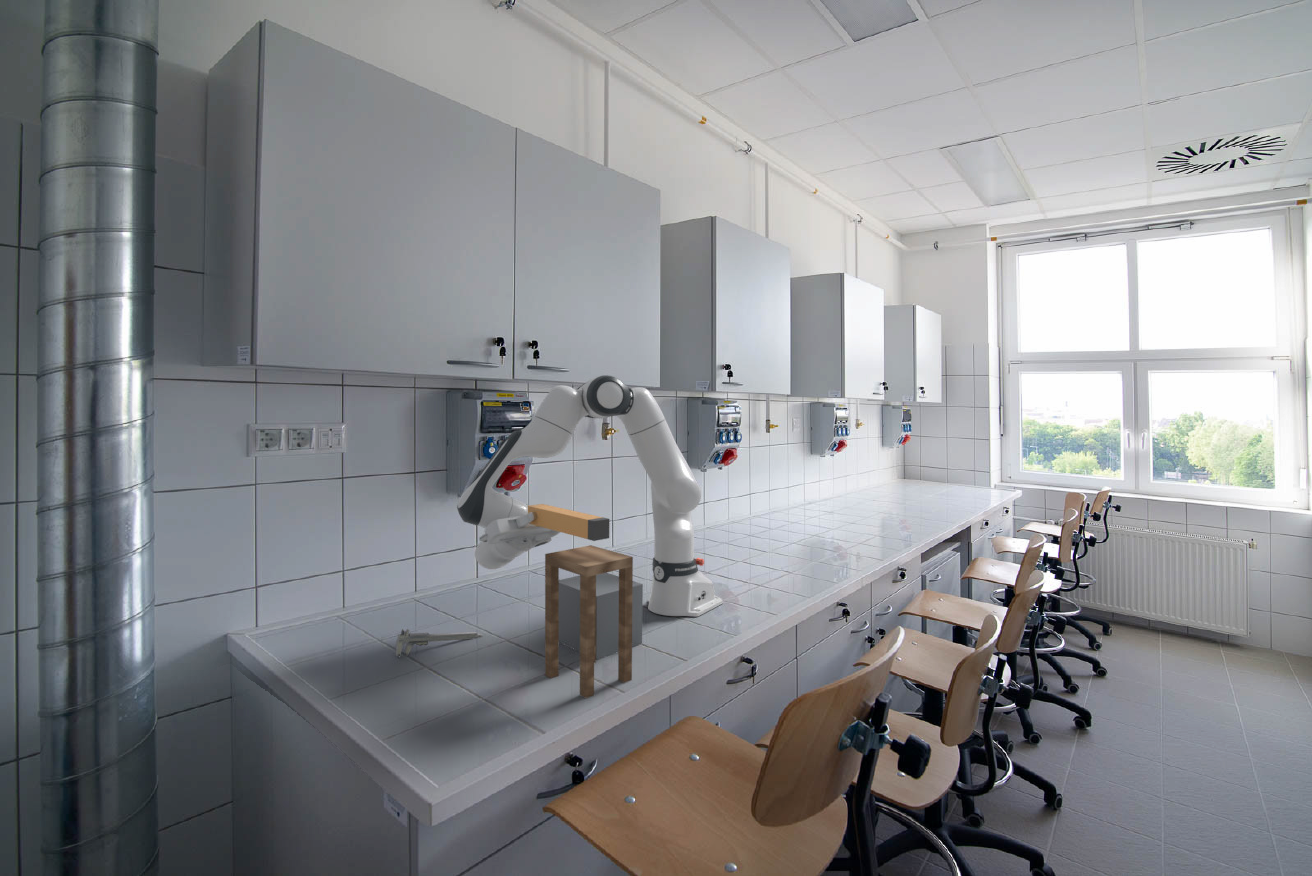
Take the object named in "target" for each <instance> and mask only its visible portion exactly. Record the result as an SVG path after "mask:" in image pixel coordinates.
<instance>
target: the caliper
mask: <svg viewBox="0 0 1312 876" xmlns="http://www.w3.org/2000/svg"><path fill="white" fill-rule="evenodd" d="M481 637H483V635H482V634H480V633H479V632H476V631H470V632H469V631H467V632H450V633H448V632H447V633H445V632H444V633H431V634H430V633H429V632H412V633H410V630H409V629H408V628H407V629H406V630H404V629H401V633H398V634H397V639H396V641H395V655H396V656H397V657H398V658H400V657H401V653H402V650H403V646H404V644H405V648H404V654H405V655H407V656H409V654H410V652H411V650H412V649H413V646H414V645H417V646H427V645H428V644H429V643H430V642H431V643H432V642H445V641H461V640H473V638H474V639H477V638H481ZM405 655H404V656H405ZM399 656H400V657H399Z"/></svg>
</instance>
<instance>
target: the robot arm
mask: <svg viewBox="0 0 1312 876" xmlns="http://www.w3.org/2000/svg"><path fill="white" fill-rule="evenodd" d="M584 417H585V418H590V419H601V420H602V419H607V418H610V417H617V418H618V419H620V421H621V423H622V424H623V425H624V427H625V430H626V433H627V434H628V437H629V440H630V442H631V443H632V445H633V446H632V447H633V449H634V450H635V453H636V455H637V457H638V460H639V462H640V463H641V465H642V467H643V469H644V471H645V472H646V474H647V476H648V478H649V479H650V481H651V482H650V490H651V507H652V517H653V518H652V519H653V528H654V545H653V546H654V547H653V548H654V557H653V558H652V573H653V575H652V582H651V587H650V588H651V590H650V596H649V597H648V606H647V608H648V610H649V611H650V612H652V613H654V614H657V615H661V616H668V617H694V618H695V617H700V616H702V615H704V614H705V613H707V612H710V611H711V610H713V609H715V608H717V607H718V606H720V605H722V604H723V603H724V602H723V599H722V598H721V597H720V596H717V595H715V587H714V583H713V581H712V580H710V578H708V577H707V576H706V575H705V574H703V573H702V572H701V571H700V570H699V567H698V566H700V567H703V566H704V565H705V560H704V558H701V557H697V558H695V556H694V555H695V554H694V552H695V530H694V524H693V519H692V511H694V510H695V509H696V508H697V507H698V506H699V504H700V502H701V499H702V491H701V487H700V485H699V483H698V482H697V480H696V478H695V476H694V473H693V471H692V470H691V468H690V466H689V464H688V462H687V461H686V458H685V457H684V455H683V453H682V451H681V450H680V448H679V446H678V444H677V443H676V440H675V438H674V436H673V433H672V431H671V429H670V426H669V425H668V422H667V420H666V417H665V416H664V414H663V410H661V407H660V406H659V404H658V402H657V400H656V399H655V397H654V396H653V394H652V393H651V392H650V390H648V389H647V388H646V387H641V386H640V387H639V386H638V387H632V388H630V386H628V385H627V384H625V383H624V382H623V381H622V380H621V379H619V378H617V377H615V376H612V375H608V374H607V375H600V376H595V377H593V378H590V379H589V380H588V381H586V382H585V383H583V384H582V385H580V386H579V387H577V388H574V387H571V386H569V385H565V384H564V385H563V384H562V385H561V384H560V385H556V386H554V387H553V388H551V389H550V391H548V393H547V394H546V396H545V397H544V399H543V400H542V402H541V403H540V405H539V406H538V409H537V410H536V412H535V413H534V415H533V417H532V420H531V421H530V422H529V423H528V424H527V425H526V426H525V427H524V428H522V429H520V430H513V431H512V432H511V433H510V434H509V435H508V436H506V438H505V439H504V440H503V442H502V443H501V444H500V446H499V447H498V448H497V450H496V451H495V452H494V453H493V454H492V456H491V457H490V459H489V460H488V462H487V463H486V464H485V465H484V467H483V468H482V469H481V470H480V472H479V473H478V475H477V476H476V477H475V478H474V480H473V481H472V482H471V484H470V485H469V486H468V487H467V488H466V489H465V490H464V491H463V493H462V494H461V496H460V498H459V500H458V503H457V505H456V506H457V507H456V509H457V511H458V514H459V516H460V518H461V520H462V521H463V523H467V524H470V525H474V526H479V527H481V528H484V534H482V535H481V536H479V543H478V544H477V546H476V547H475V549H474V558H475V560H476V561H477V563H478V565H480V566H481V567H483V568H484V569H487V570H491V571H492V570H497V569H500V568H503V567H505V566H506V565H509V563H511V562H512V561H514V560H515V558H517V557H519V556H521V555H522V554H523V553H525V552H528V551H530V550H531V549H533V548H536V547H540V546H543V545H547V544H549V543H550V542H551V541H552V538H553V537H555V536H558V535H559V534H560V533H561V532H559V531H555V530H551V529H547V528H544V527H540V526H536V525H533V524H529V523H530V522H533V521H535V520H537V518H538V517H537V513H536V512H530V513H528V506H529V505H528V504H527V503H525V502H524V501H521V500H519V499H516V498H514V497H512V496H509V495H506V494H504V493H502V492H499V491H497V490H495V489H494V488H493V486H494V485H495V484H496V482H497V481H498V479H499V478H500V477H501V476H502V475H503V473H504V472H505V470H506V469H507V468H508V466H509V464H510V463H511V462H512V461H514V460H516V459H519V458H538V459H546V458H547V459H548V458H552V457H553V458H554V457H555V456H557V455H559V454H561V453H562V452H563V451H564V450H565V449H566V448H567V446H568V445H569V443H570V440H571V439H572V436H573V435H574V433H575V430H576V428H577V426H578V424H579V423H580V421H581V420H582V419H583V418H584Z"/></svg>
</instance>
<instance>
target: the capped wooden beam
mask: <svg viewBox="0 0 1312 876" xmlns="http://www.w3.org/2000/svg"><path fill="white" fill-rule="evenodd" d="M530 512H536V513H537V517H538V518H537V520H535V521H533V522H530V523H529V524H533V525H536V526H540V527H544V528H547V529H551V530H555V531H559V532H560V533H563V534H567V535H571V536H574V537H577V538H581V539H585V540H589V541H593V542H595V541H603V540H607V539H610V518H607V517H602V516H599V515H593V514H590V513H585V512H582V511H581V512H580V511H575V510H571V509H567V508H562V507H558V506H555V505H549V504H545V503H539V504H530V505H528V513H530Z"/></svg>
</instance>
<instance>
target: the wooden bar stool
mask: <svg viewBox="0 0 1312 876" xmlns="http://www.w3.org/2000/svg"><path fill="white" fill-rule="evenodd" d="M544 557H545V558H544V569H545V570H544V572H545V573H544V602H545V605H544V614H545V615H544V618H545V620H544V628H545V629H544V650H545V651H544V658H545V659H544V662H545V663H544V664H545V665H544V667H545V668H544V670H545V671H544V672H545V673H544V676H545V675H546V676H545V677H547V678H549V679H552V678H556V677H559V674H560V673H559V671H560V670H559V667H560V666H559V661H560V658H559V654H560V651H559V649H560V648H559V645H560V642H559V580H560V579H559V578H560V577H559V574H560V570H564V571H567V572H570V573H573V574H577V576H579V575H580V652H579V695H580V696H581V697H583V698H584V699H588V698H590V697H593V696H594V695H595V663H596V662H597V660H596V575H598V574H602V573H611V572H614V571H618V576H619V642H618V652H617V654H618V659H617V661H618V662H617V663H618V664H617V666H618V667H617V668H618V669H617V670H618V673H617V674H618V676H617V680H618V681H620V682H622V683H624V684H625V683H628V682H630V681H633V647H632V592H633V581H634V580H633V578H634V576H633V572H634V571H633V569H634V568H633V567H634V565H633V564H634V563H633V562H634V557H633V556H631V555H628V554H624V553H620V552H616V551H612V550H609V549H606V548H602V547H598V546H595V545H591V544H590V545H589V544H588V545H585V546H578V547H574V548H568V549H564V550H558V551H554V552H548V553H545V554H544Z"/></svg>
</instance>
